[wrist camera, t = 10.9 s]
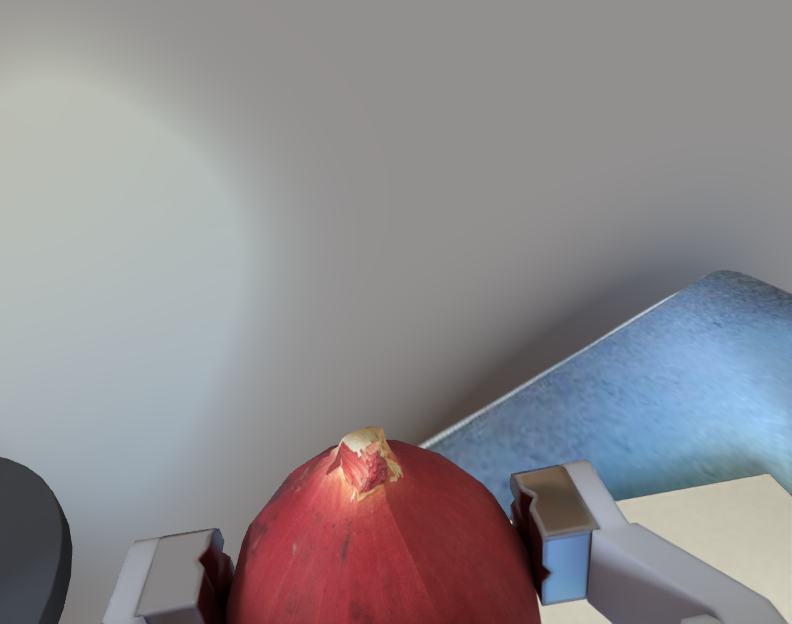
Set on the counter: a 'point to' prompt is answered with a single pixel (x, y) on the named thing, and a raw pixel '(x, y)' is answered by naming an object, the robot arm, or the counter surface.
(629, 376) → the counter surface
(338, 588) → the onion
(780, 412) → the counter surface
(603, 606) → the robot arm
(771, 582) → the sorting board
